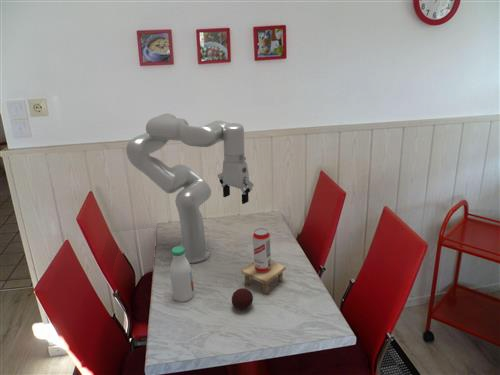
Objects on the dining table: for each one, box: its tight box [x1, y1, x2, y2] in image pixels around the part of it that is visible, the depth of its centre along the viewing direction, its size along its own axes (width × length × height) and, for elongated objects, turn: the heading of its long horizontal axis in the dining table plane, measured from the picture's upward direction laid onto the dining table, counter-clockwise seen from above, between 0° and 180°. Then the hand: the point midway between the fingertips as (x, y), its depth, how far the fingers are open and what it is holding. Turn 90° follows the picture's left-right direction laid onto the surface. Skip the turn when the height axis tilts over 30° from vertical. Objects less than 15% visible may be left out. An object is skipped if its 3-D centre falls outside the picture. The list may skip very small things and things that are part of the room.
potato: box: [231, 287, 254, 310], centre depth 144 cm, size 7×8×7 cm
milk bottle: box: [169, 245, 195, 303], centre depth 149 cm, size 8×8×20 cm
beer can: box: [252, 227, 272, 272], centre depth 152 cm, size 6×6×16 cm
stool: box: [240, 260, 286, 295], centre depth 156 cm, size 12×12×6 cm
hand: (235, 199), depth 158 cm, fingers open, 9 cm apart
